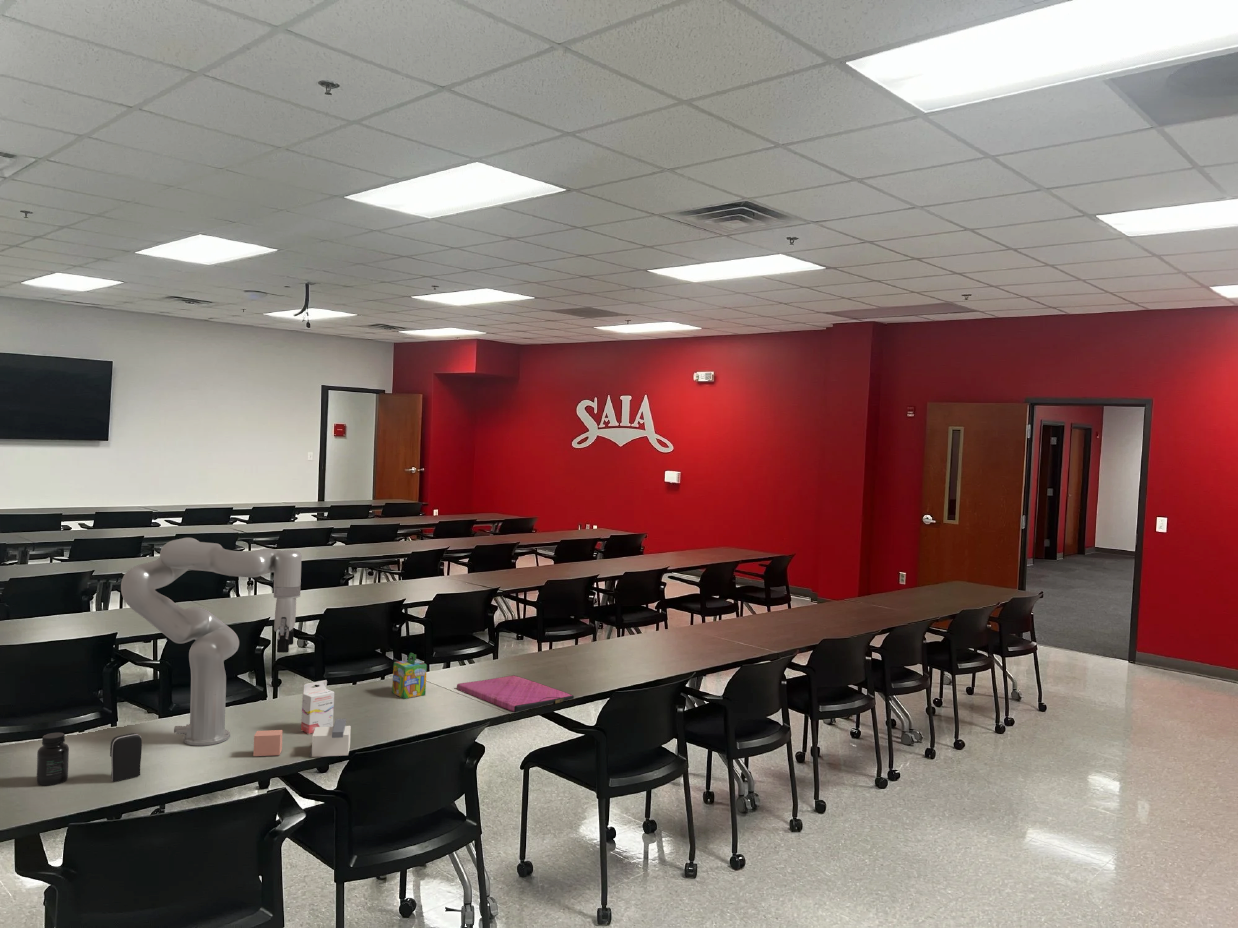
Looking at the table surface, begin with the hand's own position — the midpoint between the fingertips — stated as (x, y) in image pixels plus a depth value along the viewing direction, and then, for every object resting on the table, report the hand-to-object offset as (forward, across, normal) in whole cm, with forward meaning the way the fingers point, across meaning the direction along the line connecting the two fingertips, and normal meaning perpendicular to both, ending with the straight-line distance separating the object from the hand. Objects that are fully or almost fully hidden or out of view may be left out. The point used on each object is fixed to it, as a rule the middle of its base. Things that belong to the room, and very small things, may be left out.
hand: (285, 648), depth 254 cm
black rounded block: (+28, +23, -36) cm, 51 cm away
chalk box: (+29, -45, +37) cm, 65 cm away
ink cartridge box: (+29, -10, +9) cm, 32 cm away
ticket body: (+28, +10, +15) cm, 34 cm away
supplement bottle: (+28, +23, -53) cm, 64 cm away
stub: (+28, +10, -2) cm, 30 cm away
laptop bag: (+29, -40, +76) cm, 91 cm away
